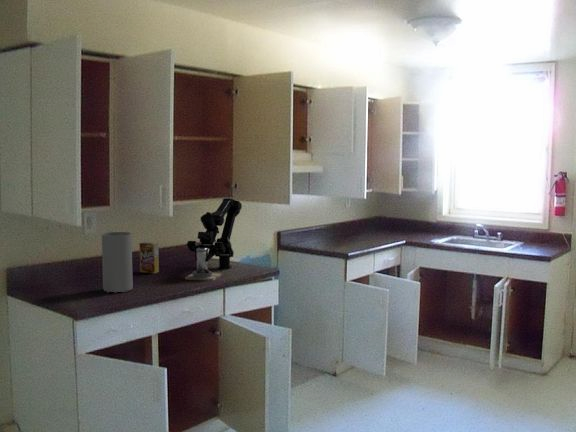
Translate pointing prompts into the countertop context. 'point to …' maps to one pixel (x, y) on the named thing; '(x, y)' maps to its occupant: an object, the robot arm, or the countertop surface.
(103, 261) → the cylinder vase
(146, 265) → the candy box
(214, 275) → the duct board
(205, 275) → the collar
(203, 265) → the metal canister
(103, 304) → the countertop surface
